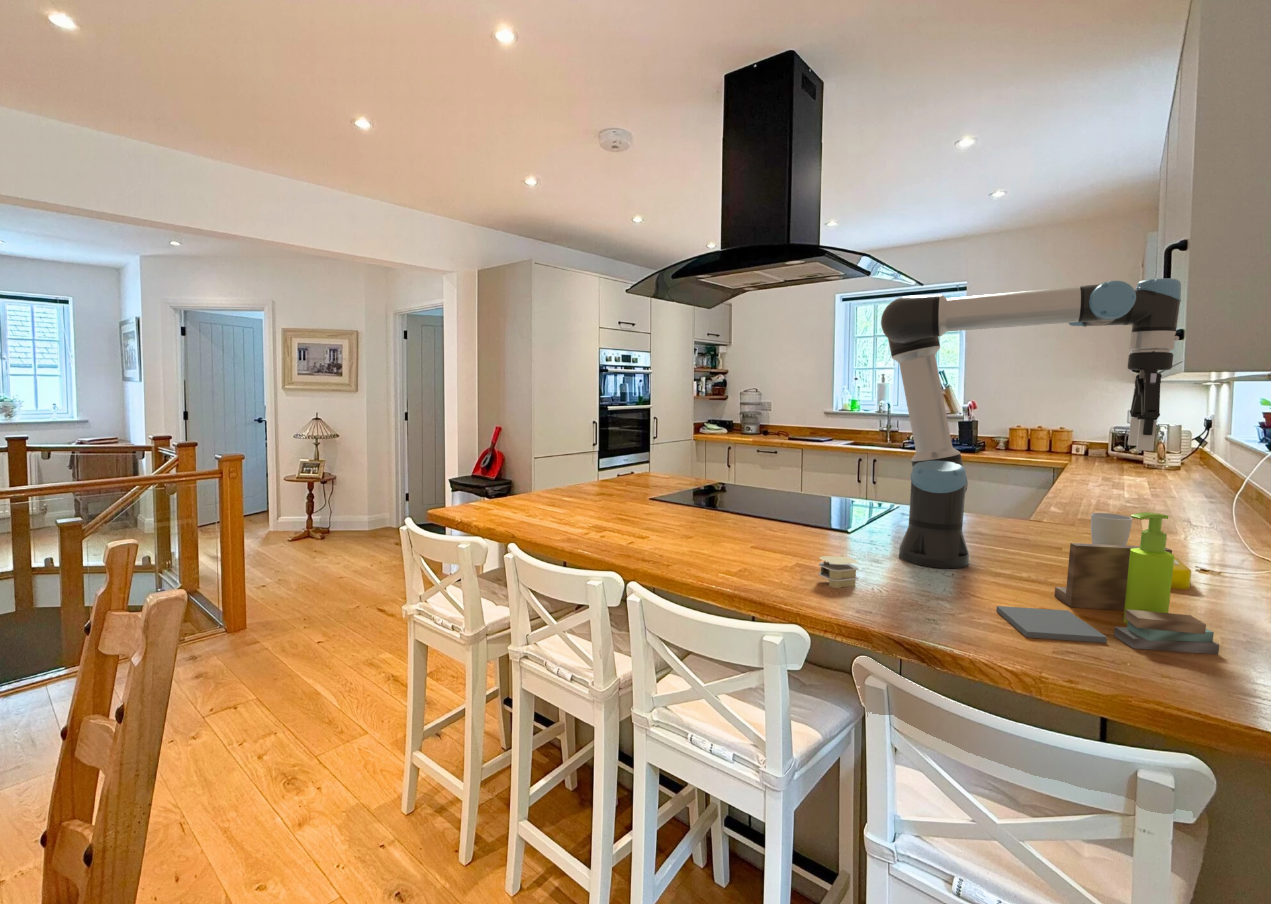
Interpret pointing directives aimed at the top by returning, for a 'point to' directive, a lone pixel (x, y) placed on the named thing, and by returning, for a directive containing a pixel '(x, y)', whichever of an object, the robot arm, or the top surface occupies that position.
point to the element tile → (1180, 575)
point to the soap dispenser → (1149, 569)
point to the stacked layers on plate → (838, 571)
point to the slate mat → (1050, 624)
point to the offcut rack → (1103, 586)
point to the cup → (1110, 528)
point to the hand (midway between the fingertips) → (1139, 448)
